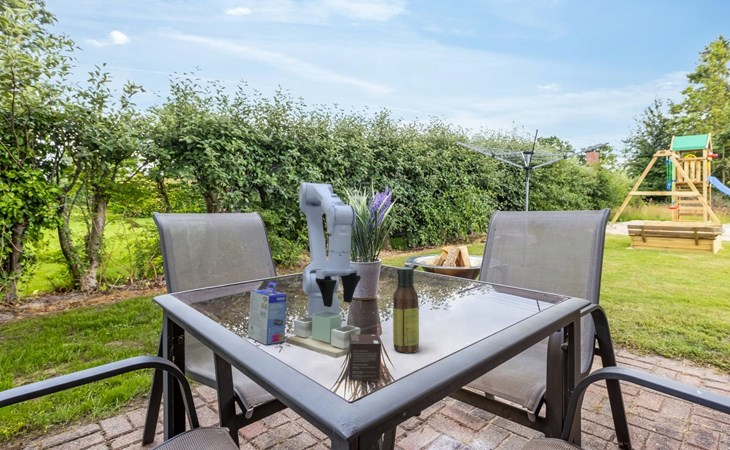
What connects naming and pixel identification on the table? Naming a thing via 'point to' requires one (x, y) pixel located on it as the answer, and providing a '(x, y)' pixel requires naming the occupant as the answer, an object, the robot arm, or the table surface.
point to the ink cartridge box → (267, 315)
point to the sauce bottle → (405, 313)
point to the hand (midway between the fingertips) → (337, 304)
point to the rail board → (305, 340)
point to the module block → (324, 325)
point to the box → (364, 357)
